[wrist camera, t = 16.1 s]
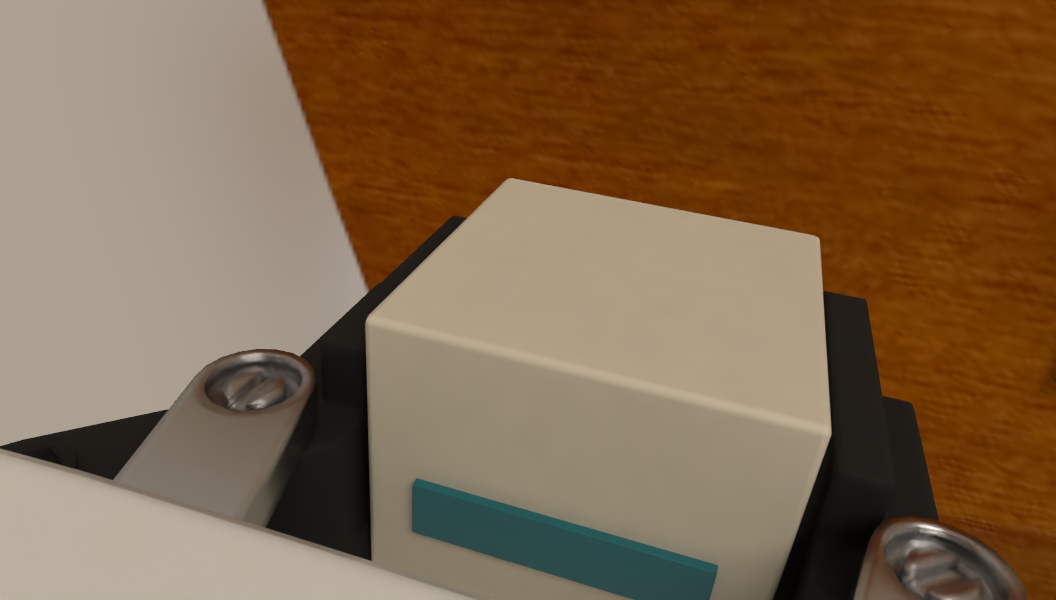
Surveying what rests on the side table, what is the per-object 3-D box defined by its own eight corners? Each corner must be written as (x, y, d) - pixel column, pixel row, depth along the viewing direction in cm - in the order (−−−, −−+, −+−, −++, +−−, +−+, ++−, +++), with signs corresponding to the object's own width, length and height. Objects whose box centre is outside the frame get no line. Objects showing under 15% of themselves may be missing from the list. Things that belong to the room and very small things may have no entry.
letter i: (507, 175, 11) (354, 322, 7) (821, 234, 10) (835, 439, 6) (489, 415, 13) (366, 625, 9) (747, 484, 12) (724, 748, 8)
